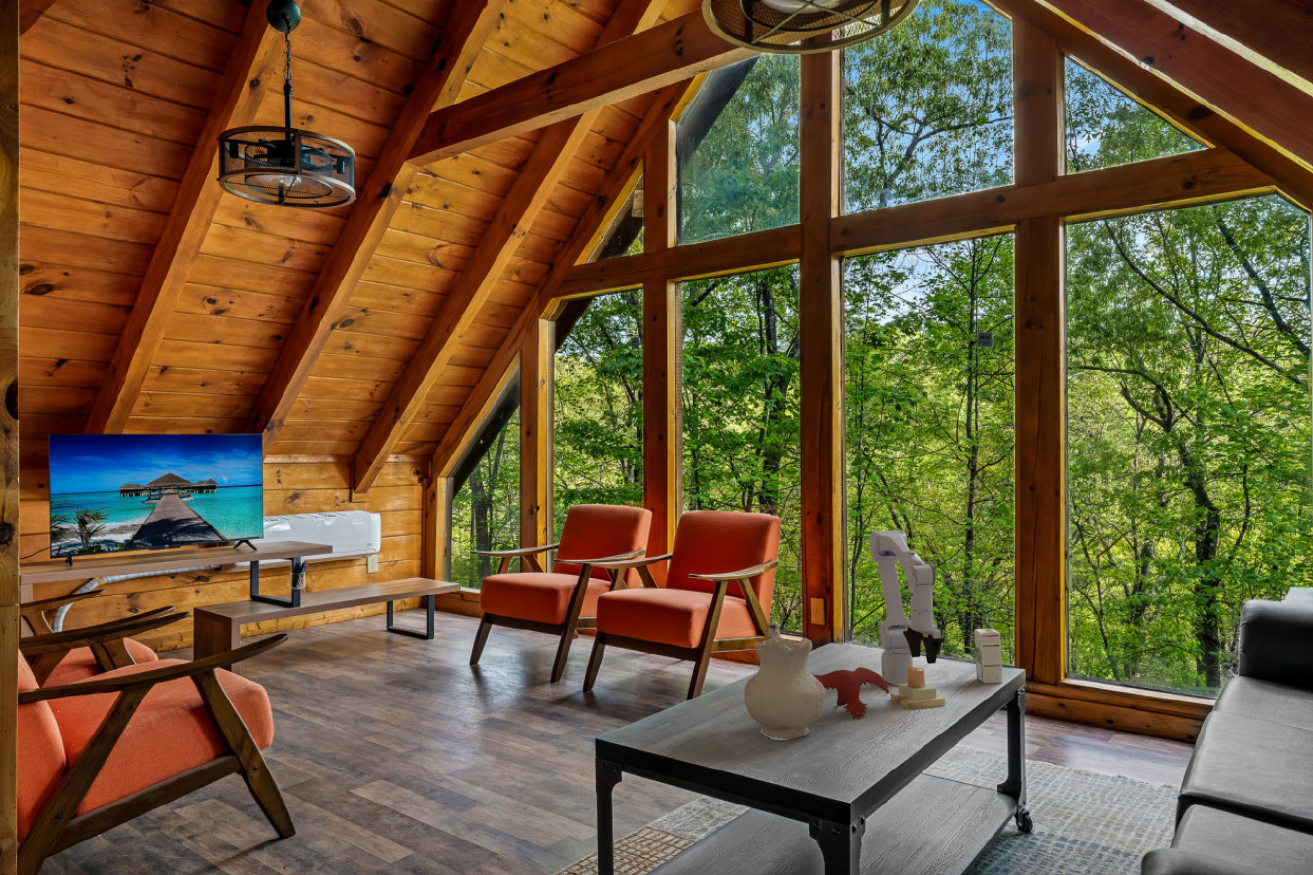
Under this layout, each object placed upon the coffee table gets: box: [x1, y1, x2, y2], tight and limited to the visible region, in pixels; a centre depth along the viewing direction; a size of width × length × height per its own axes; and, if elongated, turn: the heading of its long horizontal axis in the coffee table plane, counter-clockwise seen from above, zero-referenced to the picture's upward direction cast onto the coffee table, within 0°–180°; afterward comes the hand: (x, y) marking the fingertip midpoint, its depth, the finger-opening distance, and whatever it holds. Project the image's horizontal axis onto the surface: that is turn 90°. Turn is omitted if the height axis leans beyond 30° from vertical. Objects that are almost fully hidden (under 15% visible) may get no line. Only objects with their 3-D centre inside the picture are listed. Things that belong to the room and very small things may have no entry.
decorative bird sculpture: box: [811, 666, 890, 720], centre depth 222 cm, size 28×9×15 cm
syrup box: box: [974, 628, 1003, 684], centre depth 249 cm, size 6×6×14 cm
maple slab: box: [890, 691, 946, 710], centre depth 229 cm, size 10×10×2 cm
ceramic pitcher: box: [743, 622, 826, 740], centre depth 209 cm, size 22×20×25 cm
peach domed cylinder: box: [907, 666, 926, 688], centre depth 230 cm, size 4×4×4 cm
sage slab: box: [897, 683, 937, 700], centre depth 229 cm, size 7×7×2 cm
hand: (923, 660), depth 233 cm, fingers open, 7 cm apart
